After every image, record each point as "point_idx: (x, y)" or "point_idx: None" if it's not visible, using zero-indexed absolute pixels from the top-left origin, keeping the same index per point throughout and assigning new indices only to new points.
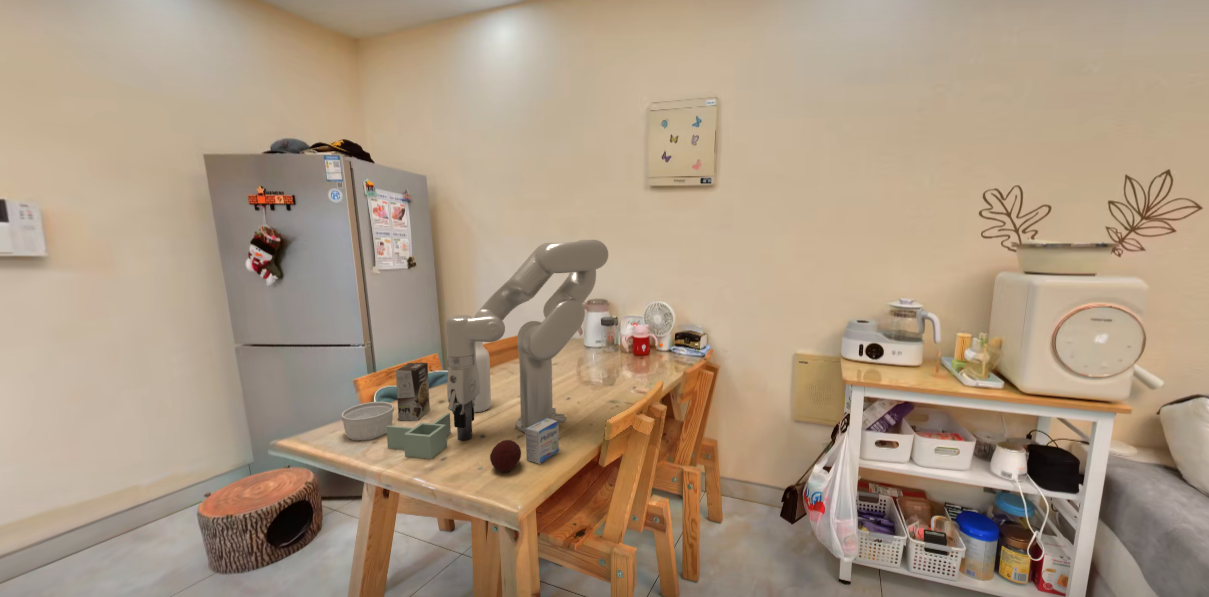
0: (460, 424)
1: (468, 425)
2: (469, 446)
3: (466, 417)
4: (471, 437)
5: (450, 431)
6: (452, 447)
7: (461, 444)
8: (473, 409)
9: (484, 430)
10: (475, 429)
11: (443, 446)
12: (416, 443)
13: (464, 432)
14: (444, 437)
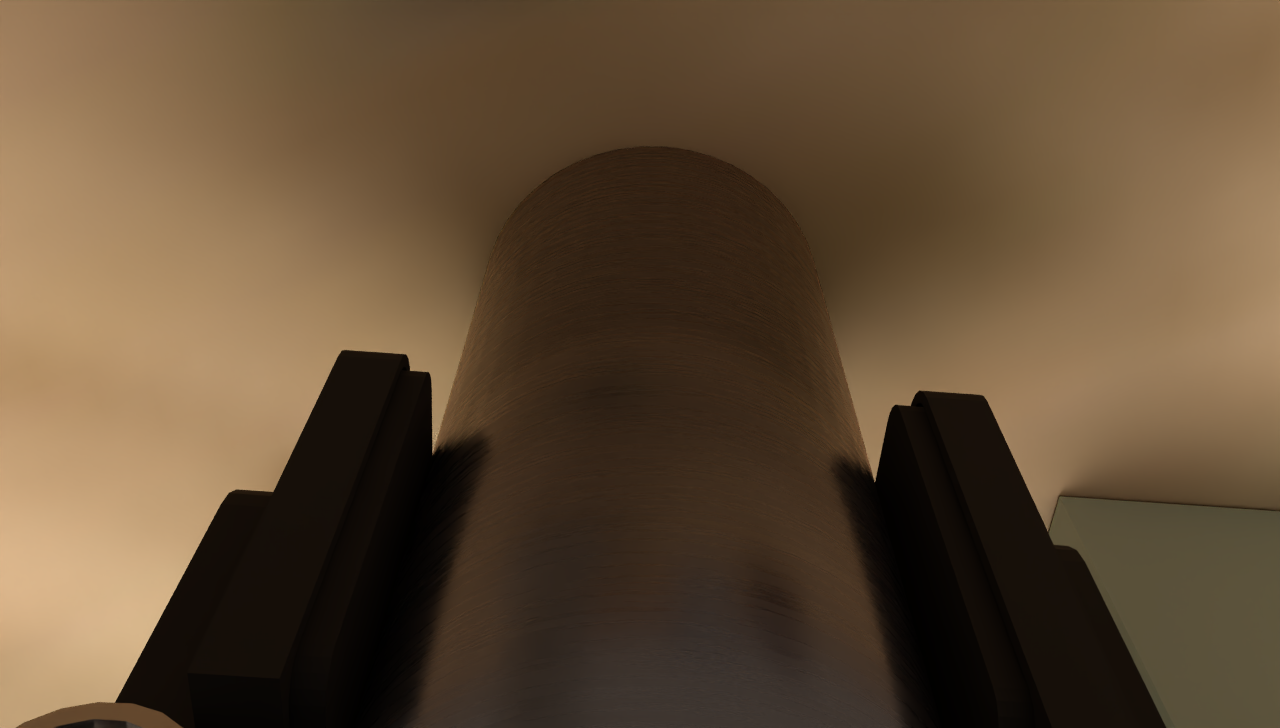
0: (1070, 564)
1: (784, 353)
2: (1111, 17)
3: (866, 572)
4: (674, 156)
5: None
6: (1133, 371)
7: (993, 248)
8: (265, 601)
9: (157, 4)
10: (175, 255)
11: (1209, 534)
12: None
13: (836, 349)
14: (1227, 653)
